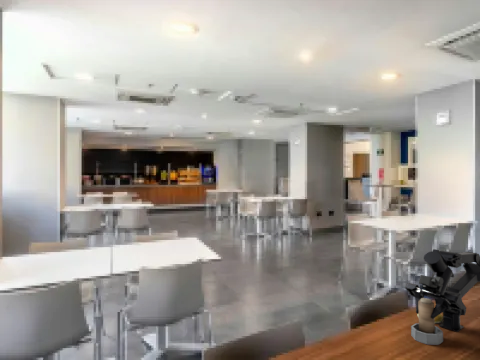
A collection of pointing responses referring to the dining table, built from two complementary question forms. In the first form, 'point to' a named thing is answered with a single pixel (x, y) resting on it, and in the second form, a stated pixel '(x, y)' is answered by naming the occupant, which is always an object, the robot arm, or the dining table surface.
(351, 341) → the dining table surface
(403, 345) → the dining table surface
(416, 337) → the bin
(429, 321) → the pepper mill
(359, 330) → the dining table surface
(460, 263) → the robot arm
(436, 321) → the bread roll
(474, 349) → the dining table surface
